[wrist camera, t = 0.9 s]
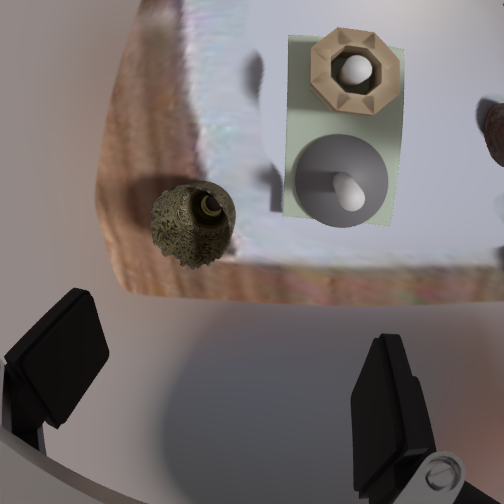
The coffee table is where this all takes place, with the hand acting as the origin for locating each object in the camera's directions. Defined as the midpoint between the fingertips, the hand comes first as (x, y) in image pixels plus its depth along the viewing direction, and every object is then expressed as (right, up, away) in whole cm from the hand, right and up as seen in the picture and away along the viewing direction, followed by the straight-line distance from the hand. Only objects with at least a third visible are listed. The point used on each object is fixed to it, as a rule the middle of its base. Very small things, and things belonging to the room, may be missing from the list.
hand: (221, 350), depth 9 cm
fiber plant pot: (-3, +8, +23) cm, 25 cm away
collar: (+10, +19, +14) cm, 25 cm away
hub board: (+10, +15, +18) cm, 25 cm away
